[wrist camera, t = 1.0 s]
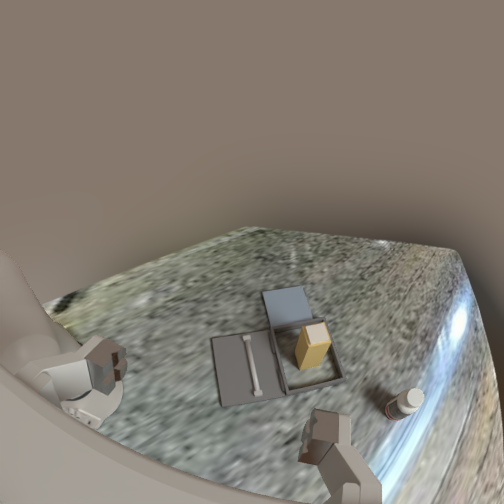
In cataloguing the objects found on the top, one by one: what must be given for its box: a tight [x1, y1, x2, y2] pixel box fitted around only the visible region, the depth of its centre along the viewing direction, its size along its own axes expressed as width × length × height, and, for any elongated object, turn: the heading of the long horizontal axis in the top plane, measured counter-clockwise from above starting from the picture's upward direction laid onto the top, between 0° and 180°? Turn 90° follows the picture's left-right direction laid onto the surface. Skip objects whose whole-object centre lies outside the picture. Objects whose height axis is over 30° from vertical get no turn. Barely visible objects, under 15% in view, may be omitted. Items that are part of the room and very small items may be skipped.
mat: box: [262, 286, 313, 327], centre depth 73 cm, size 10×10×1 cm
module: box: [295, 322, 331, 370], centre depth 60 cm, size 4×4×13 cm
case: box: [212, 317, 346, 407], centre depth 63 cm, size 26×16×2 cm, turn 101°
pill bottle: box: [385, 388, 424, 421], centre depth 51 cm, size 5×5×10 cm
